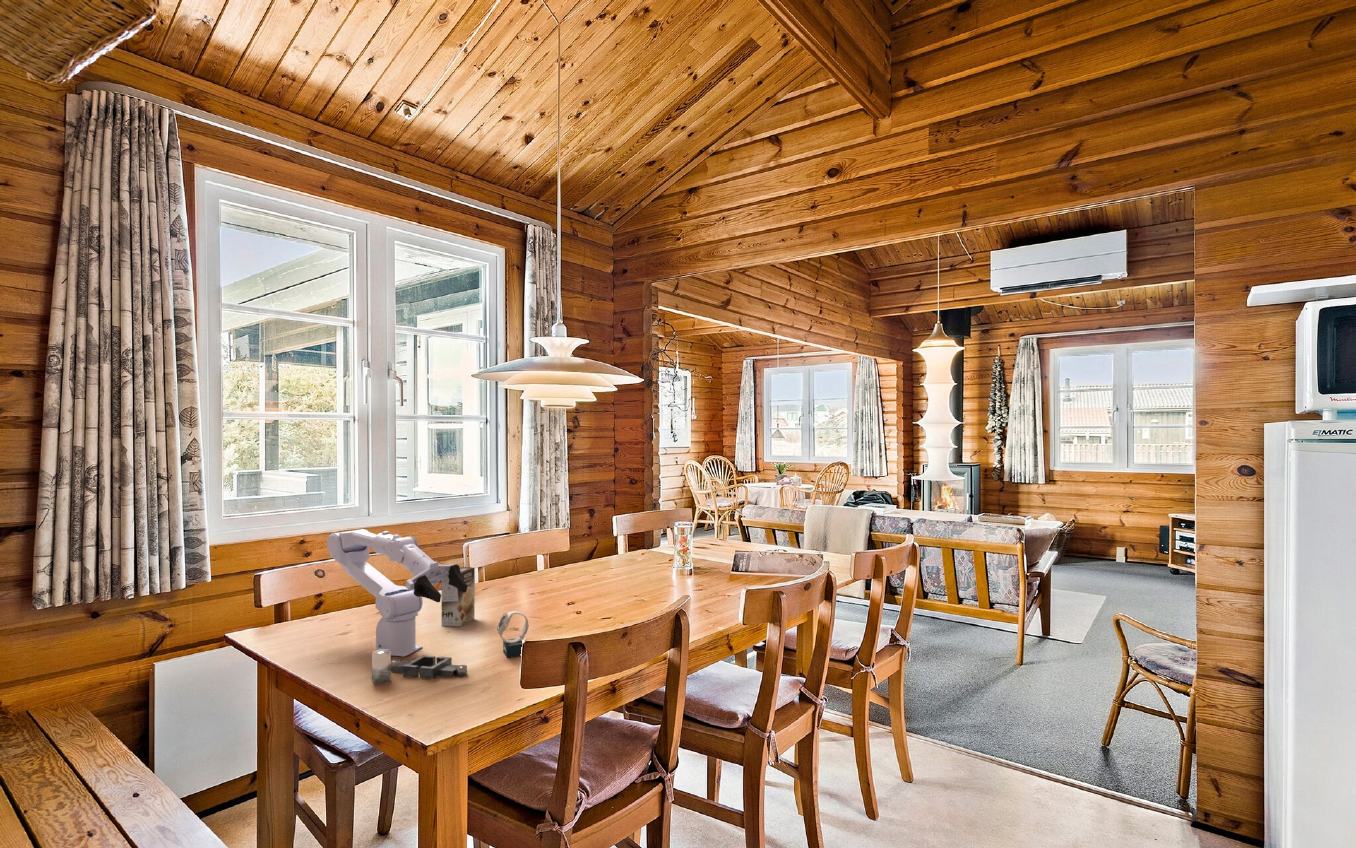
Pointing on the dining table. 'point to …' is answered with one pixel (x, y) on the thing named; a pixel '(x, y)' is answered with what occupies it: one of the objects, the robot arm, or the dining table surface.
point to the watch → (511, 645)
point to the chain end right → (443, 669)
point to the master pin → (381, 666)
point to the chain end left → (412, 665)
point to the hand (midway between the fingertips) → (452, 594)
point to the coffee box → (458, 600)
